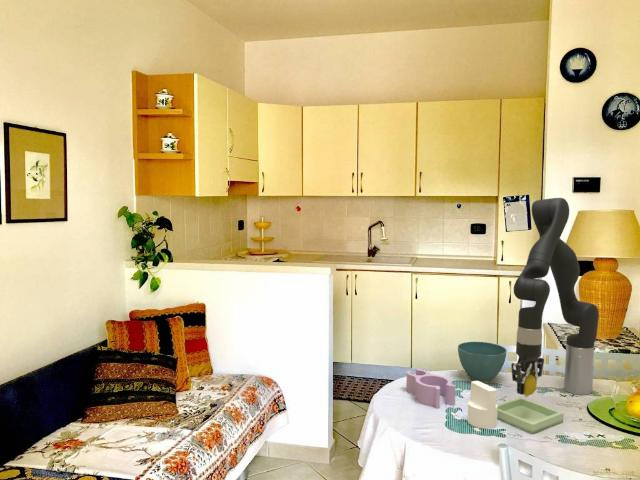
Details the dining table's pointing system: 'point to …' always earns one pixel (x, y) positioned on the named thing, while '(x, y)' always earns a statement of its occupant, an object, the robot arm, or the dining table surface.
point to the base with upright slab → (482, 406)
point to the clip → (430, 388)
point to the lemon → (529, 385)
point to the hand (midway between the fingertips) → (526, 391)
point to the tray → (528, 415)
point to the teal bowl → (481, 360)
